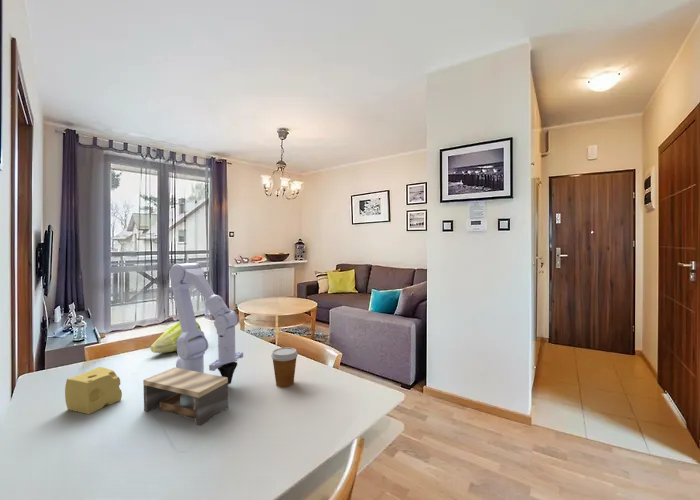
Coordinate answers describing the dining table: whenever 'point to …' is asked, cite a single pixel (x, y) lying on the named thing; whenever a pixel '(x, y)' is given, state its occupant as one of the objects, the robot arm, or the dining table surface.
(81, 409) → the cheese
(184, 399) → the pale blue capsule
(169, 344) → the lettuce
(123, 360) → the dining table surface
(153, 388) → the counter shelf
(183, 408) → the tray
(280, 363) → the disposable coffee cup
